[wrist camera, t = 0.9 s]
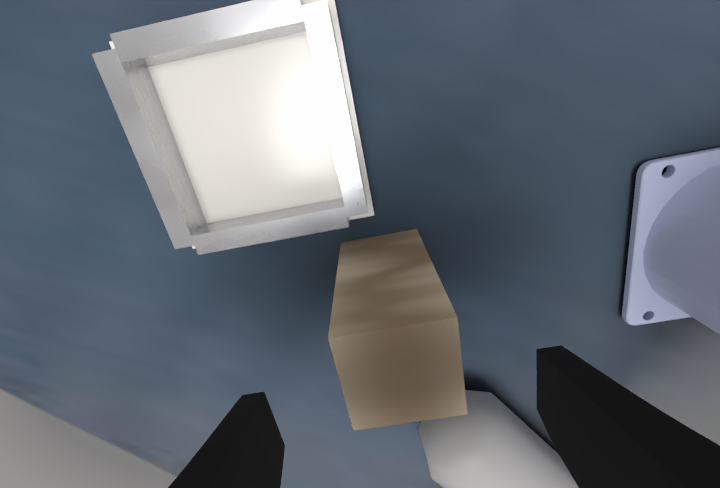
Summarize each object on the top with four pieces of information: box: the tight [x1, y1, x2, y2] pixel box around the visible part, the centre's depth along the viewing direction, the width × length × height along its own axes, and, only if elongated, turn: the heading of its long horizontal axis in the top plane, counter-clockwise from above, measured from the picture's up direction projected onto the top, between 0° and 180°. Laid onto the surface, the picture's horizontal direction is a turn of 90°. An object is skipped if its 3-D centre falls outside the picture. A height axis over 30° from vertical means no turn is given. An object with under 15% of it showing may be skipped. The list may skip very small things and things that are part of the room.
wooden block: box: [328, 229, 468, 431], centre depth 13 cm, size 4×4×7 cm
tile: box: [109, 0, 374, 249], centre depth 14 cm, size 8×8×1 cm
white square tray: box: [92, 0, 368, 255], centre depth 13 cm, size 8×8×2 cm
